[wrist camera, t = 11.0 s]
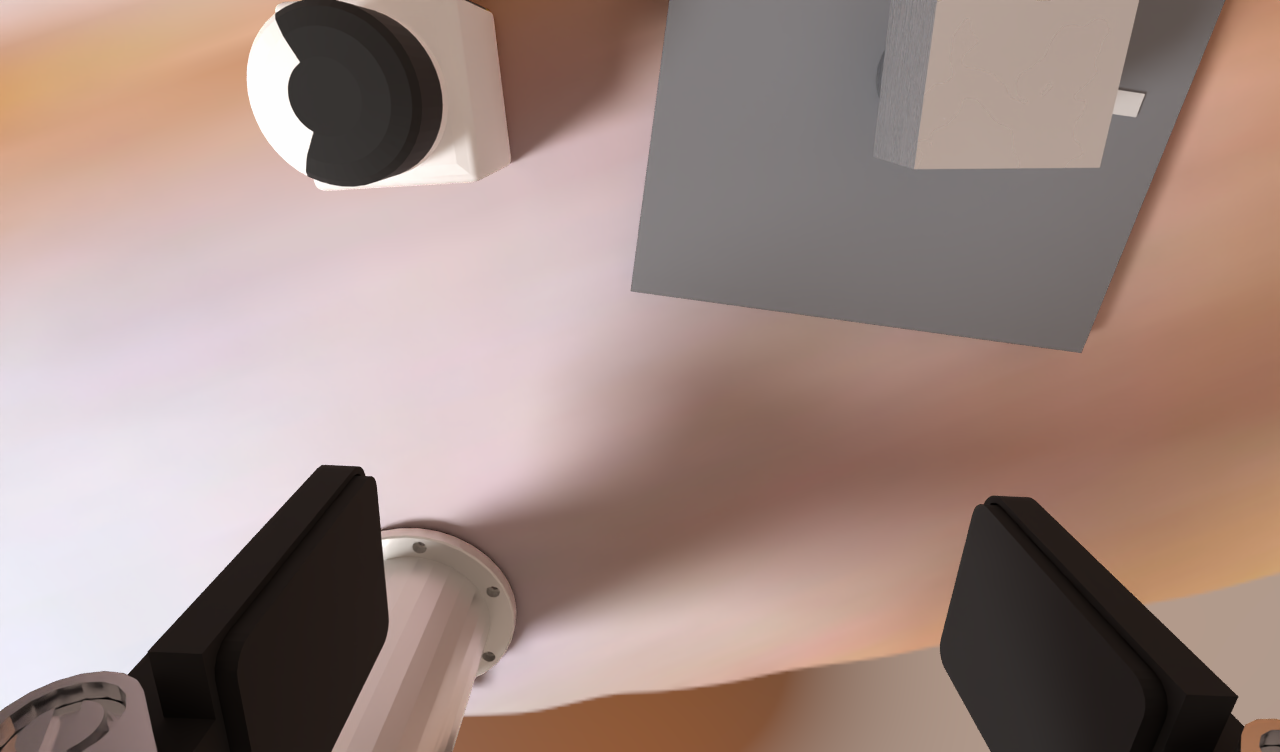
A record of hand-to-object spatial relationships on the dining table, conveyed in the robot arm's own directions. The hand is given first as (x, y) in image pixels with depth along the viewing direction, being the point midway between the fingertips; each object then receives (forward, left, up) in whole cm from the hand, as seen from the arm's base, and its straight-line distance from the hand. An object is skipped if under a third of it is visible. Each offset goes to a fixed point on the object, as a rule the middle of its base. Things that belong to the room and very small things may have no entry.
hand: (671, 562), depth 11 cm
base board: (+9, -11, -28) cm, 31 cm away
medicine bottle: (+5, +12, -28) cm, 31 cm away
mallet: (+11, -10, -22) cm, 26 cm away
